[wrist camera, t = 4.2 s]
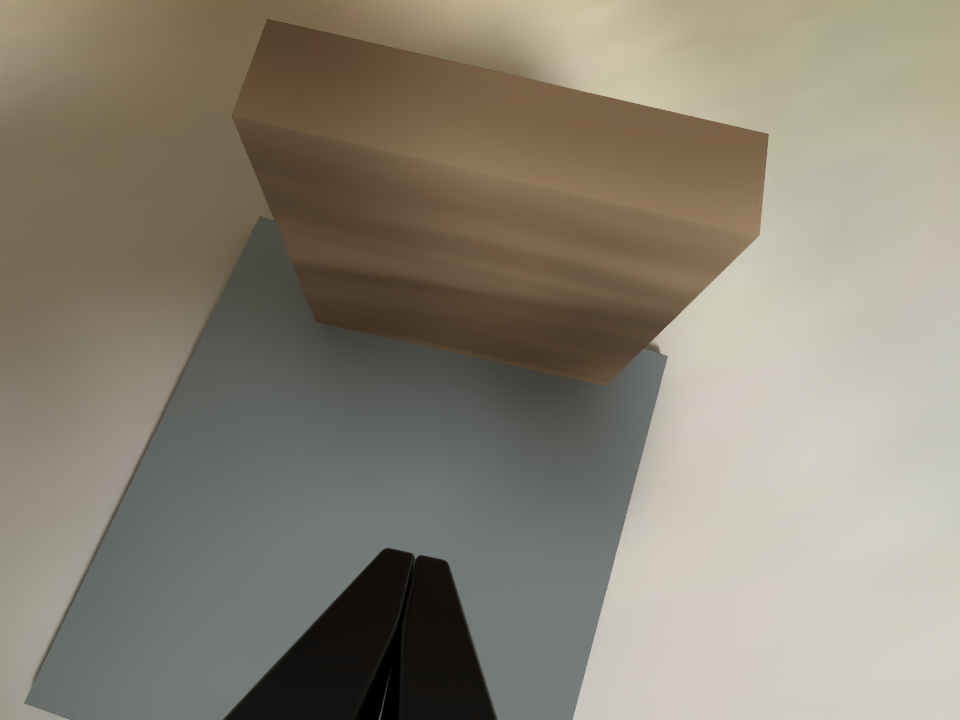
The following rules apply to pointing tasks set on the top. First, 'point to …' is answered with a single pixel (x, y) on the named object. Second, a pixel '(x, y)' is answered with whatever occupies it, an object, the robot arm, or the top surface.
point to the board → (490, 202)
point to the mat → (348, 508)
